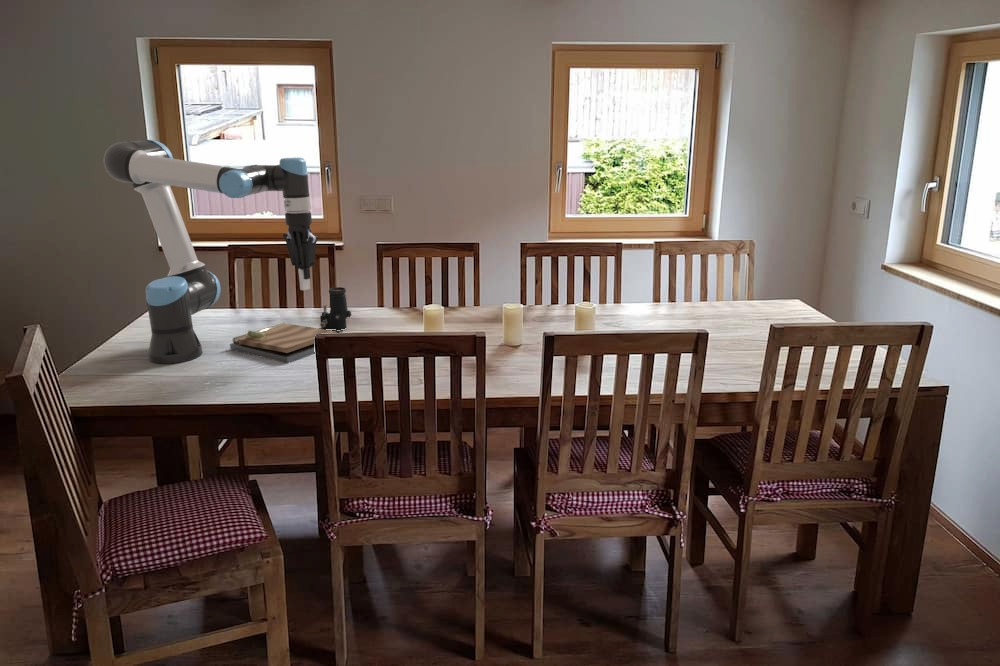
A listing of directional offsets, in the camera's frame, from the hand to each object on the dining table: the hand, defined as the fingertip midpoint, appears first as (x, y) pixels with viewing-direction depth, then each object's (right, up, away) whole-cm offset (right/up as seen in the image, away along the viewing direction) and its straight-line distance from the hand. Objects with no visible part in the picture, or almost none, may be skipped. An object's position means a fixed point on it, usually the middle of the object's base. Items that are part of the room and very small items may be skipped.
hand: (305, 289), depth 241 cm
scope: (+5, -12, +25) cm, 28 cm away
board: (-7, -15, +7) cm, 18 cm away
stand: (-8, -18, +8) cm, 21 cm away
